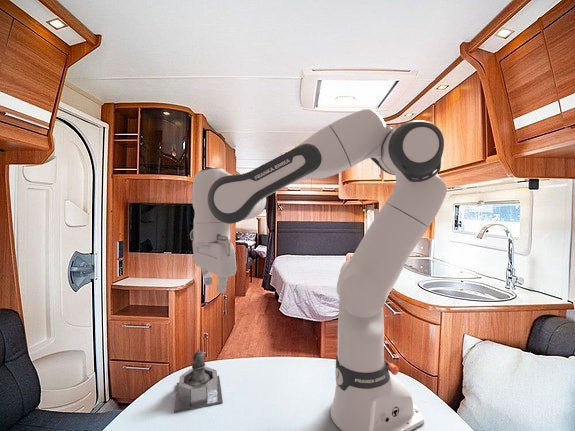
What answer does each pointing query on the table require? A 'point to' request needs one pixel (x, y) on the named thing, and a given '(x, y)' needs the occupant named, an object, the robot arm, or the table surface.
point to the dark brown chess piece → (198, 370)
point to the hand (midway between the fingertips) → (214, 288)
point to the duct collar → (197, 392)
